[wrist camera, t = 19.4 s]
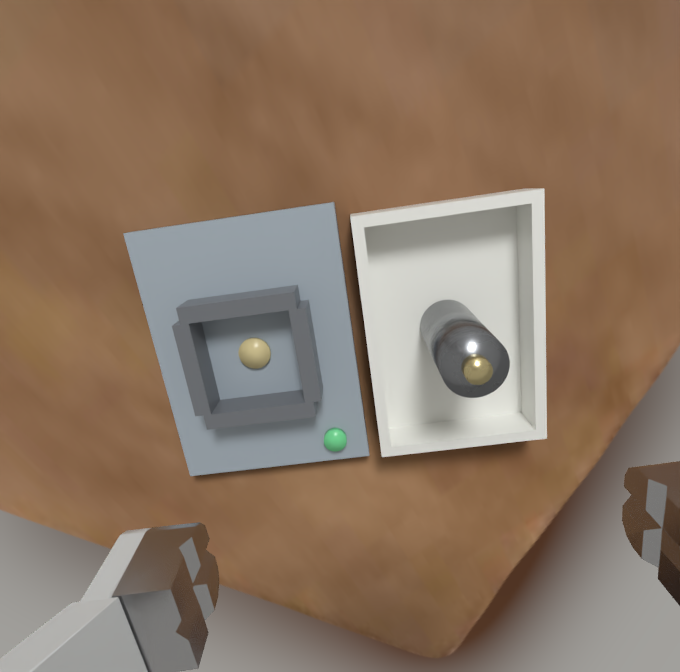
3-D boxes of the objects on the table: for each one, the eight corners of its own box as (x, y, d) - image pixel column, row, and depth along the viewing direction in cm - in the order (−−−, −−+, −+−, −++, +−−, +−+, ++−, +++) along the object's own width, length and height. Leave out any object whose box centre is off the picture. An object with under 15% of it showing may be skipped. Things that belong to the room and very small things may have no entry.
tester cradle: (132, 231, 34) (105, 236, 30) (334, 201, 33) (332, 203, 29) (195, 465, 40) (179, 495, 36) (368, 446, 39) (370, 473, 35)
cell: (417, 303, 35) (440, 343, 26) (471, 296, 34) (513, 334, 26) (422, 353, 36) (445, 407, 27) (474, 346, 36) (515, 399, 27)
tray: (350, 214, 33) (350, 216, 30) (524, 188, 33) (544, 188, 29) (379, 434, 39) (381, 457, 35) (529, 416, 38) (546, 438, 35)
